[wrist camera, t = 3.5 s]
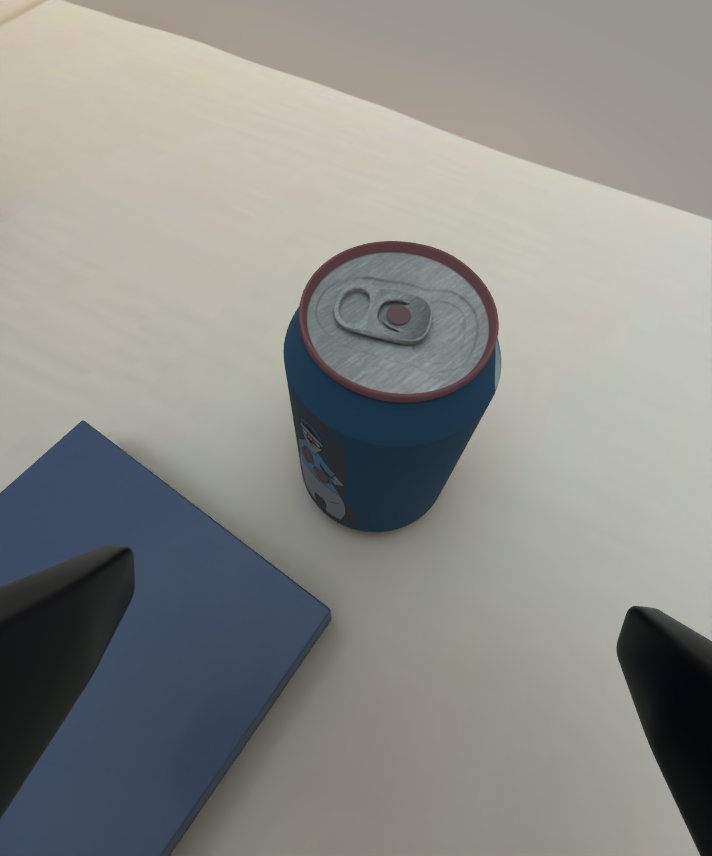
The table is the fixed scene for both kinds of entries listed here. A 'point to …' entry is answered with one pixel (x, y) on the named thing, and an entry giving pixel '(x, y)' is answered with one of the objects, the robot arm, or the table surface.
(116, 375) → the table surface
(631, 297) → the table surface
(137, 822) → the blue square block
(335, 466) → the soda can
